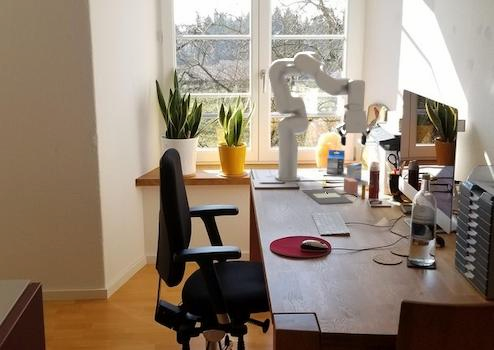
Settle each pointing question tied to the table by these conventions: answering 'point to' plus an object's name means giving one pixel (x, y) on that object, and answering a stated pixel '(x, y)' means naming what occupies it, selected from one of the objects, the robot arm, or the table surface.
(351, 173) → the medicine box
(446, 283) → the table surface
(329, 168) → the label tape box
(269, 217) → the table surface
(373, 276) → the table surface
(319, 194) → the mat
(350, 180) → the card box
